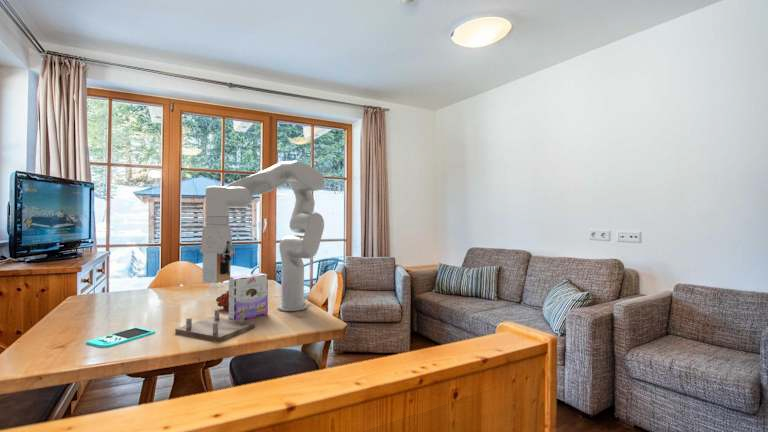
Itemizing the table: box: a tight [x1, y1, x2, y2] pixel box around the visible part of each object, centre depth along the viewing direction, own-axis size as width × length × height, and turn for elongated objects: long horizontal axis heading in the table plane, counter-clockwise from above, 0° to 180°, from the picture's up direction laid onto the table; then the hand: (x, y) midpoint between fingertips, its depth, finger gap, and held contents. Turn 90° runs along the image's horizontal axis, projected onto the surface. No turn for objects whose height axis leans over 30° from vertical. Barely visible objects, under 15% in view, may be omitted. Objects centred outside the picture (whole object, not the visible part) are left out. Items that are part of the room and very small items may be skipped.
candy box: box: [228, 272, 269, 321], centre depth 147 cm, size 14×6×16 cm, turn 135°
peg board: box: [174, 308, 256, 343], centre depth 130 cm, size 16×20×5 cm
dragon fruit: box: [215, 290, 229, 311], centre depth 158 cm, size 8×8×12 cm
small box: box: [202, 252, 231, 284], centre depth 129 cm, size 8×6×10 cm
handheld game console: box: [86, 326, 156, 348], centre depth 121 cm, size 10×16×1 cm, turn 156°
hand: (217, 272), depth 129 cm, fingers closed on small box, 6 cm apart
